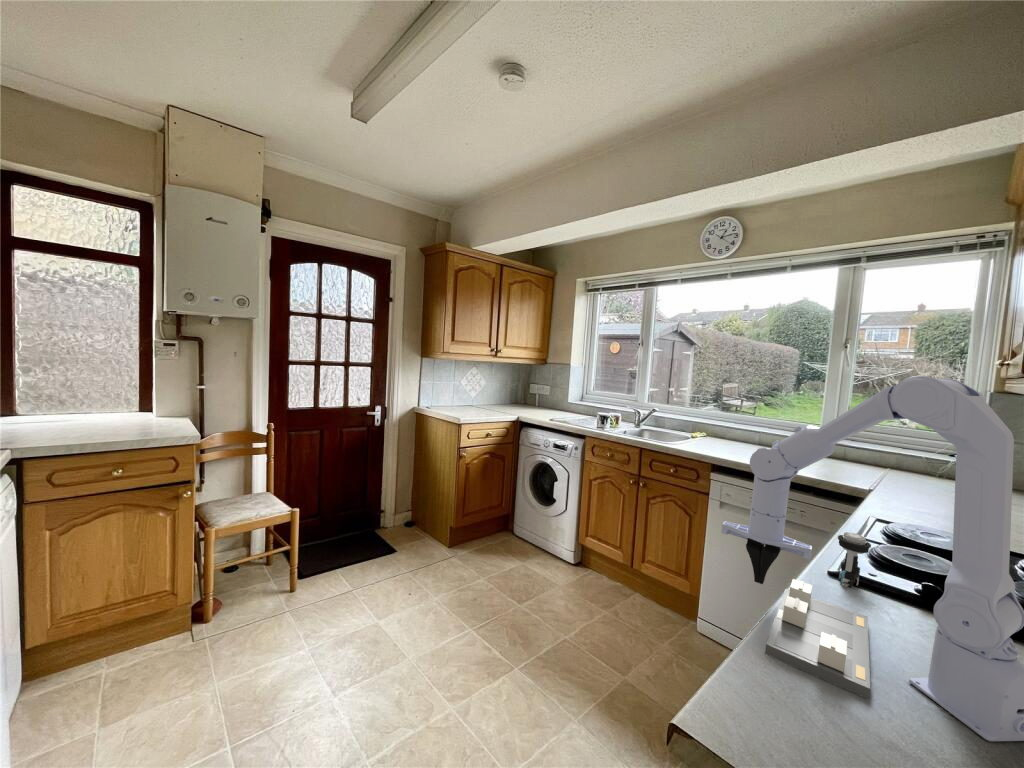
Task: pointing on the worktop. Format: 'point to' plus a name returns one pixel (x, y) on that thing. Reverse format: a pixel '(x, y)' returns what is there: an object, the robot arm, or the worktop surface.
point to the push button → (852, 557)
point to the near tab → (832, 651)
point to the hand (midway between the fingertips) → (759, 581)
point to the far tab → (801, 591)
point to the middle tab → (795, 611)
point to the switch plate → (804, 644)
